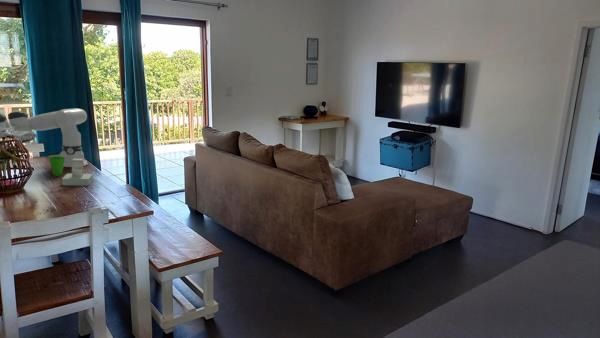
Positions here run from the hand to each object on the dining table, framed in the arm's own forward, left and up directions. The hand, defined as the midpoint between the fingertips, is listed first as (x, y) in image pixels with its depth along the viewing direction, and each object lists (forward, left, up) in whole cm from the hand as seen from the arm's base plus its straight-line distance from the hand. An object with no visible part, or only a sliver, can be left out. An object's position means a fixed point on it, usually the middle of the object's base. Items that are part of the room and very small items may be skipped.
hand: (34, 136), depth 251 cm
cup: (-15, +8, -26) cm, 31 cm away
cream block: (+4, +23, -22) cm, 32 cm away
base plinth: (+4, +23, -26) cm, 35 cm away
